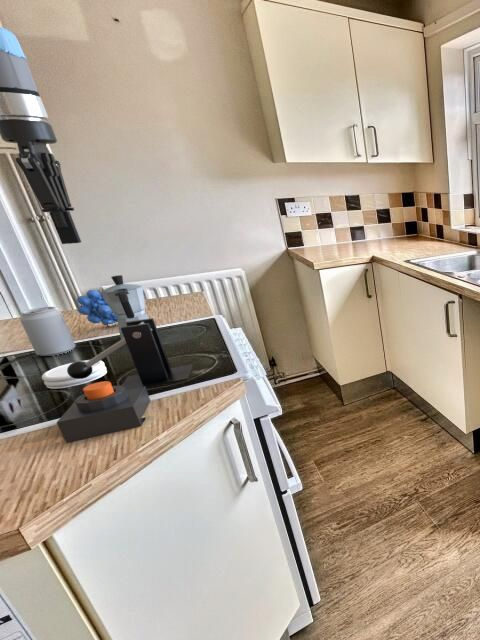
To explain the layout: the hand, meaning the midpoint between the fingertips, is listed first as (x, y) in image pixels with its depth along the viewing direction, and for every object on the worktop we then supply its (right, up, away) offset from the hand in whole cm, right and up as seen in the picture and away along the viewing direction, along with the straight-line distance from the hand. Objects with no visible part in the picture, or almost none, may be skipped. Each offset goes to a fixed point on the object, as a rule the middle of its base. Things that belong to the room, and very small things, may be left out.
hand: (71, 243), depth 91 cm
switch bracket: (+17, -30, +2) cm, 35 cm away
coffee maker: (-12, -21, +30) cm, 38 cm away
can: (-25, -24, +21) cm, 41 cm away
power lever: (+13, -25, -3) cm, 28 cm away
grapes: (-30, -17, +40) cm, 53 cm away
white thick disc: (-1, -31, +3) cm, 31 cm away
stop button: (+22, -31, -16) cm, 41 cm away
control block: (+22, -36, -14) cm, 45 cm away
